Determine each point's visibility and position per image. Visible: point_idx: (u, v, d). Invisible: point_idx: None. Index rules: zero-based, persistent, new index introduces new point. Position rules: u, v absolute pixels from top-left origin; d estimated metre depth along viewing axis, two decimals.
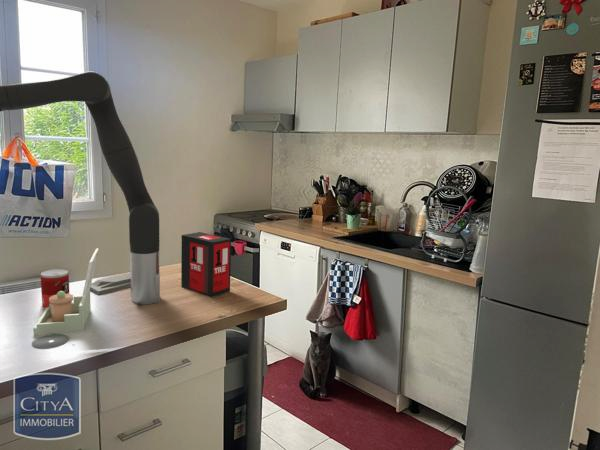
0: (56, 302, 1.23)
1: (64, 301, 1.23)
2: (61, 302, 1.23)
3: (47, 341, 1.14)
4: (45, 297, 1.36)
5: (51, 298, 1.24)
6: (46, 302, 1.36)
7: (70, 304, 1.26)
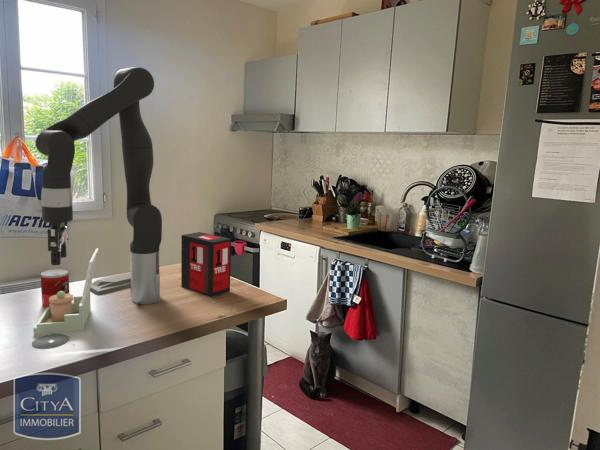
0: (56, 302, 1.23)
1: (64, 301, 1.23)
2: (61, 302, 1.23)
3: (47, 341, 1.14)
4: (45, 297, 1.36)
5: (51, 298, 1.24)
6: (46, 302, 1.36)
7: (70, 304, 1.26)
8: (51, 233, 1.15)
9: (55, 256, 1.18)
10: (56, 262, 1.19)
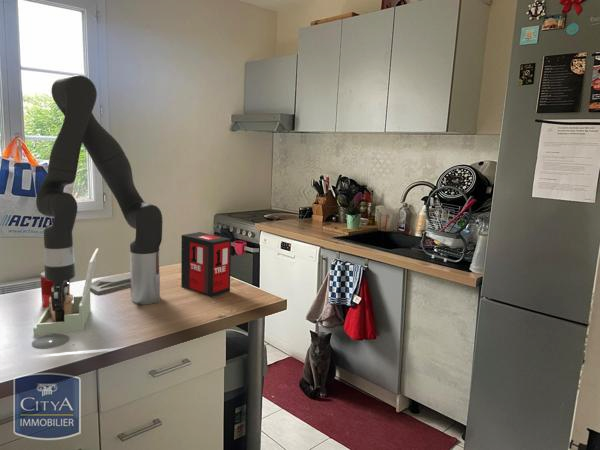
0: None
1: None
2: None
3: (47, 341, 1.14)
4: (45, 297, 1.36)
5: None
6: (46, 302, 1.36)
7: (70, 304, 1.26)
8: (54, 296, 1.19)
9: (59, 315, 1.22)
10: (60, 320, 1.23)
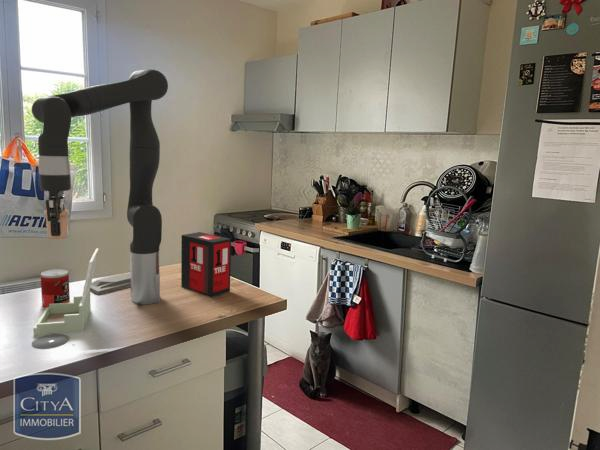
0: None
1: None
2: None
3: (47, 341, 1.14)
4: (45, 297, 1.36)
5: (46, 211, 1.20)
6: (46, 302, 1.36)
7: (66, 218, 1.21)
8: (49, 205, 1.14)
9: (55, 227, 1.18)
10: (56, 233, 1.18)
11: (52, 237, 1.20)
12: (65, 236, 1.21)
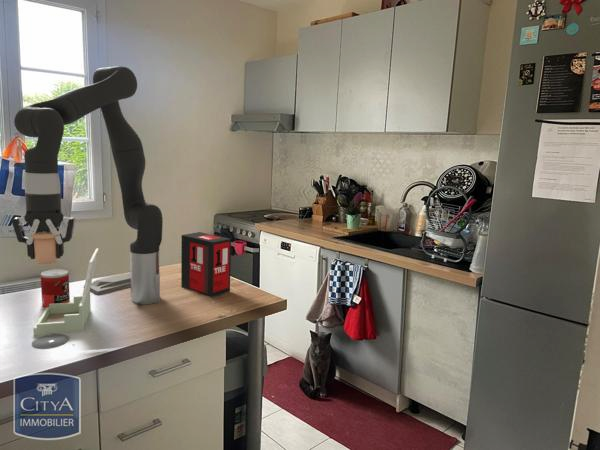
0: None
1: None
2: None
3: (47, 341, 1.14)
4: (45, 297, 1.36)
5: None
6: (46, 302, 1.36)
7: (39, 242, 1.07)
8: None
9: None
10: None
11: None
12: (37, 261, 1.08)
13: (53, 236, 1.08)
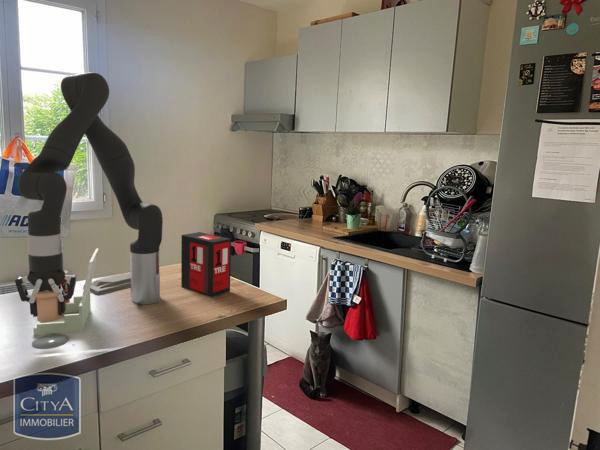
0: None
1: None
2: None
3: (47, 341, 1.14)
4: None
5: None
6: None
7: (42, 301, 1.10)
8: None
9: None
10: None
11: None
12: (40, 319, 1.11)
13: (55, 295, 1.11)
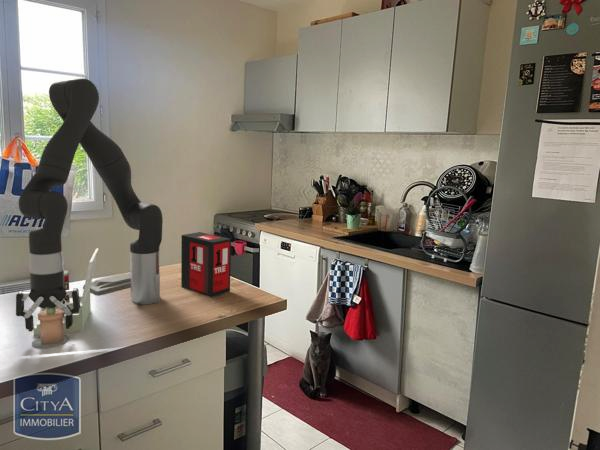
0: None
1: (38, 317, 1.11)
2: None
3: None
4: None
5: None
6: None
7: (45, 324, 1.11)
8: None
9: None
10: None
11: None
12: (44, 341, 1.12)
13: (59, 317, 1.12)
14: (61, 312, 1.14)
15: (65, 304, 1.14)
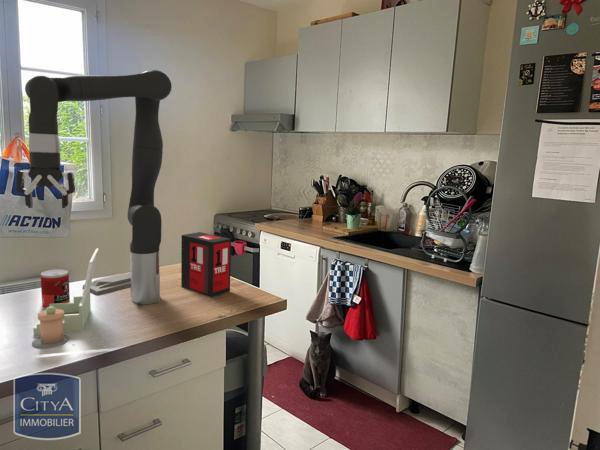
0: None
1: (38, 317, 1.11)
2: None
3: None
4: (45, 297, 1.36)
5: None
6: (46, 302, 1.36)
7: (45, 324, 1.11)
8: None
9: None
10: None
11: None
12: (44, 341, 1.12)
13: (59, 317, 1.12)
14: (61, 312, 1.14)
15: (61, 185, 1.25)
